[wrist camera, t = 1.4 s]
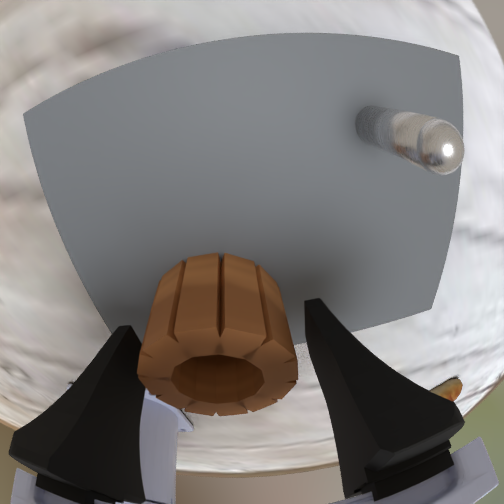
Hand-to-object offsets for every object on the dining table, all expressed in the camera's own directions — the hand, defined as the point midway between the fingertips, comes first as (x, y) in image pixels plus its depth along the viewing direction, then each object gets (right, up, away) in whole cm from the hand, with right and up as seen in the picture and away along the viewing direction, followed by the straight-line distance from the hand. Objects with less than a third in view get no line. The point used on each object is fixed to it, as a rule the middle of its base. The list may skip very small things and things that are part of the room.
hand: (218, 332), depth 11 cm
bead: (0, +1, +1) cm, 2 cm away
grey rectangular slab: (+2, +5, +1) cm, 5 cm away
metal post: (+6, +8, -2) cm, 10 cm away
